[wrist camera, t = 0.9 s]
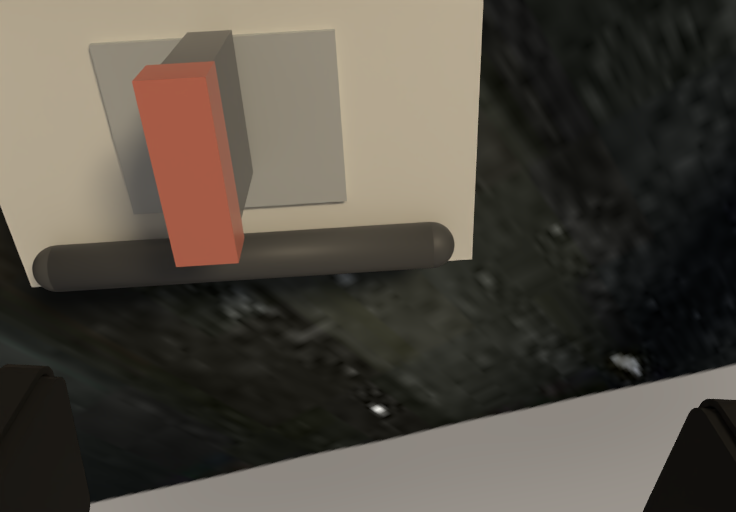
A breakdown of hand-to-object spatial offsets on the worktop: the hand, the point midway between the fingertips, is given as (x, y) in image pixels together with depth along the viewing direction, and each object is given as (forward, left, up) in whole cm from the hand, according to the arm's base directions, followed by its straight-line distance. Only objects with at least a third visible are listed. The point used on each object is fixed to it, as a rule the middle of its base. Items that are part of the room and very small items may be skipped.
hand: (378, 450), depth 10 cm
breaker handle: (+5, 0, -18) cm, 19 cm away
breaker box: (+5, 0, -23) cm, 24 cm away
